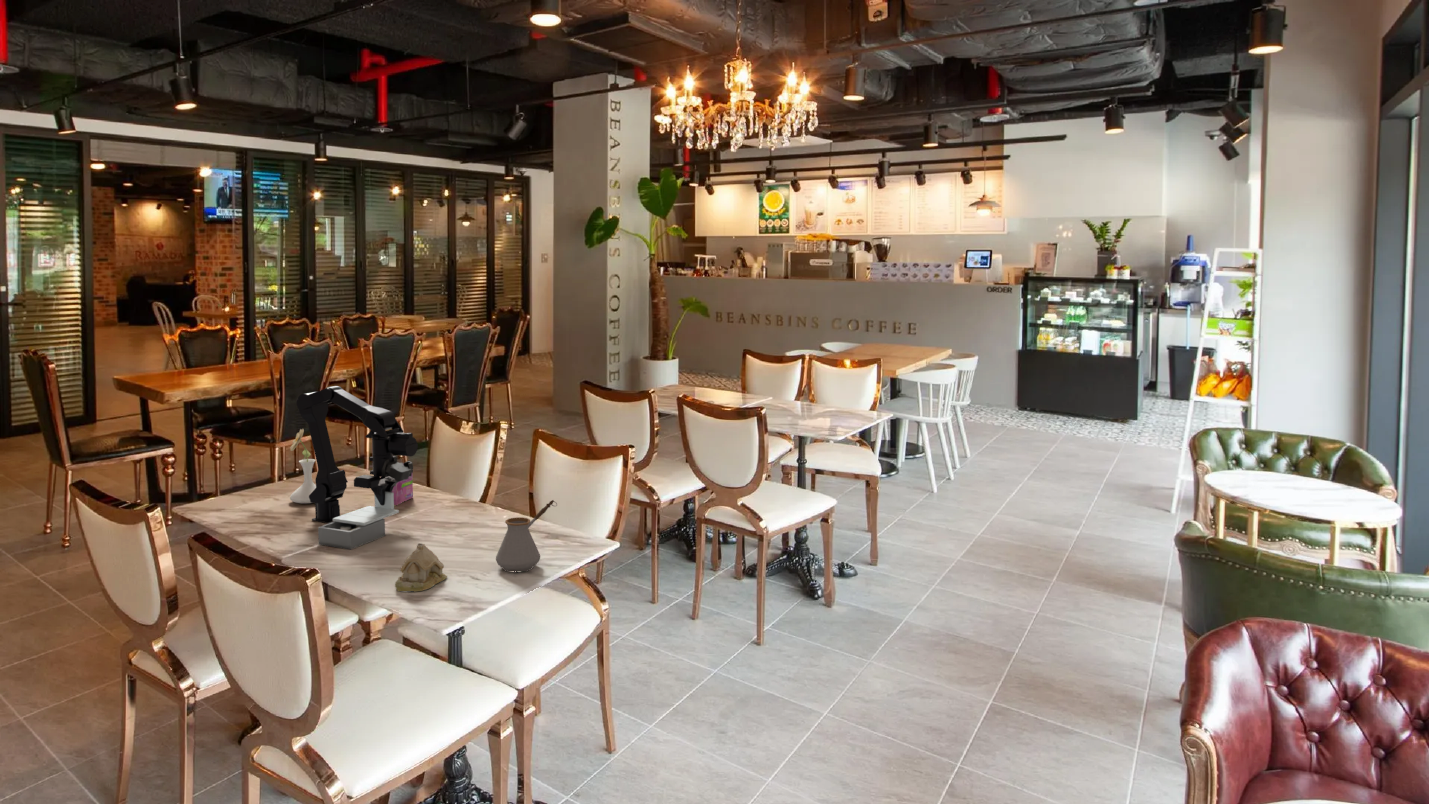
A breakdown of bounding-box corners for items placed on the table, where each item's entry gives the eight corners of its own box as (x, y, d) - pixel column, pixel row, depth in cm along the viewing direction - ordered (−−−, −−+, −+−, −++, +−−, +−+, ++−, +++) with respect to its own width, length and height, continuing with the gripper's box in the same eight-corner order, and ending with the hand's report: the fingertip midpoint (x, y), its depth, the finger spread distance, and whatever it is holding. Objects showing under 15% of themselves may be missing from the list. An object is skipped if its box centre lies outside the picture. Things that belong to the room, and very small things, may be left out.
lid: (332, 521, 250) (331, 502, 249) (370, 507, 265) (370, 489, 264) (364, 525, 247) (363, 506, 246) (401, 511, 261) (400, 493, 260)
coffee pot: (521, 578, 224) (520, 521, 221) (486, 570, 229) (485, 514, 226) (571, 555, 242) (571, 502, 240) (538, 548, 248) (538, 496, 245)
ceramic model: (408, 572, 226) (407, 535, 225) (452, 574, 226) (451, 536, 224) (387, 592, 212) (385, 552, 211) (433, 594, 212) (432, 554, 210)
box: (396, 506, 286) (395, 470, 285) (381, 504, 288) (379, 469, 286) (413, 498, 297) (412, 463, 295) (398, 496, 298) (397, 462, 296)
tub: (318, 544, 246) (318, 527, 245) (354, 531, 259) (353, 514, 258) (350, 549, 242) (349, 532, 241) (385, 535, 255) (384, 518, 254)
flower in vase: (297, 497, 294) (293, 423, 290) (332, 497, 295) (329, 423, 291) (282, 507, 281) (278, 431, 277) (319, 507, 282) (316, 431, 278)
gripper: (383, 462, 248) (384, 515, 251) (425, 450, 266) (426, 500, 268) (351, 458, 252) (353, 511, 254) (395, 446, 269) (397, 496, 272)
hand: (384, 504), depth 262 cm, fingers closed on lid
